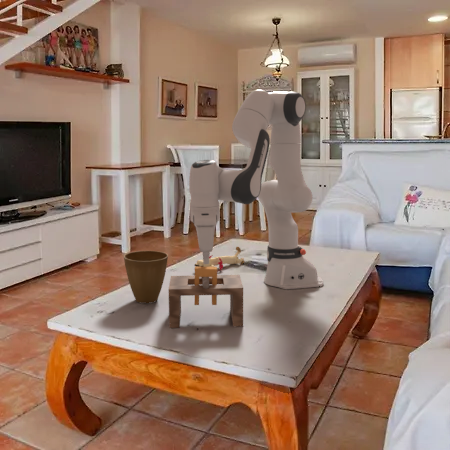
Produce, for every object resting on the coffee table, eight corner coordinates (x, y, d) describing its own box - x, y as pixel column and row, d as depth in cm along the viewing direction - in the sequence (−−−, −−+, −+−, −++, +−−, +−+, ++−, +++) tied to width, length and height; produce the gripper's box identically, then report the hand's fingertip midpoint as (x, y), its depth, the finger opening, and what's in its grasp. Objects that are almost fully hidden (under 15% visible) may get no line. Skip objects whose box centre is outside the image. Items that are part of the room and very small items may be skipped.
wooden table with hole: (239, 310, 168) (239, 268, 165) (243, 326, 154) (243, 281, 152) (171, 311, 167) (170, 269, 164) (169, 328, 153) (168, 282, 150)
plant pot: (131, 310, 168) (129, 262, 165) (121, 296, 182) (119, 252, 179) (174, 303, 174) (173, 257, 171) (161, 291, 188) (160, 248, 185)
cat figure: (232, 263, 231) (188, 269, 214) (233, 244, 230) (189, 248, 213) (247, 268, 224) (203, 274, 207) (248, 248, 223) (204, 253, 206)
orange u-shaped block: (194, 305, 158) (194, 269, 156) (194, 301, 161) (194, 266, 159) (216, 305, 158) (217, 269, 156) (216, 301, 161) (216, 266, 159)
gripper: (194, 209, 164) (195, 251, 167) (194, 221, 144) (195, 268, 147) (214, 208, 165) (215, 250, 167) (216, 220, 145) (217, 268, 147)
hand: (206, 259), depth 157 cm, fingers open, 8 cm apart
